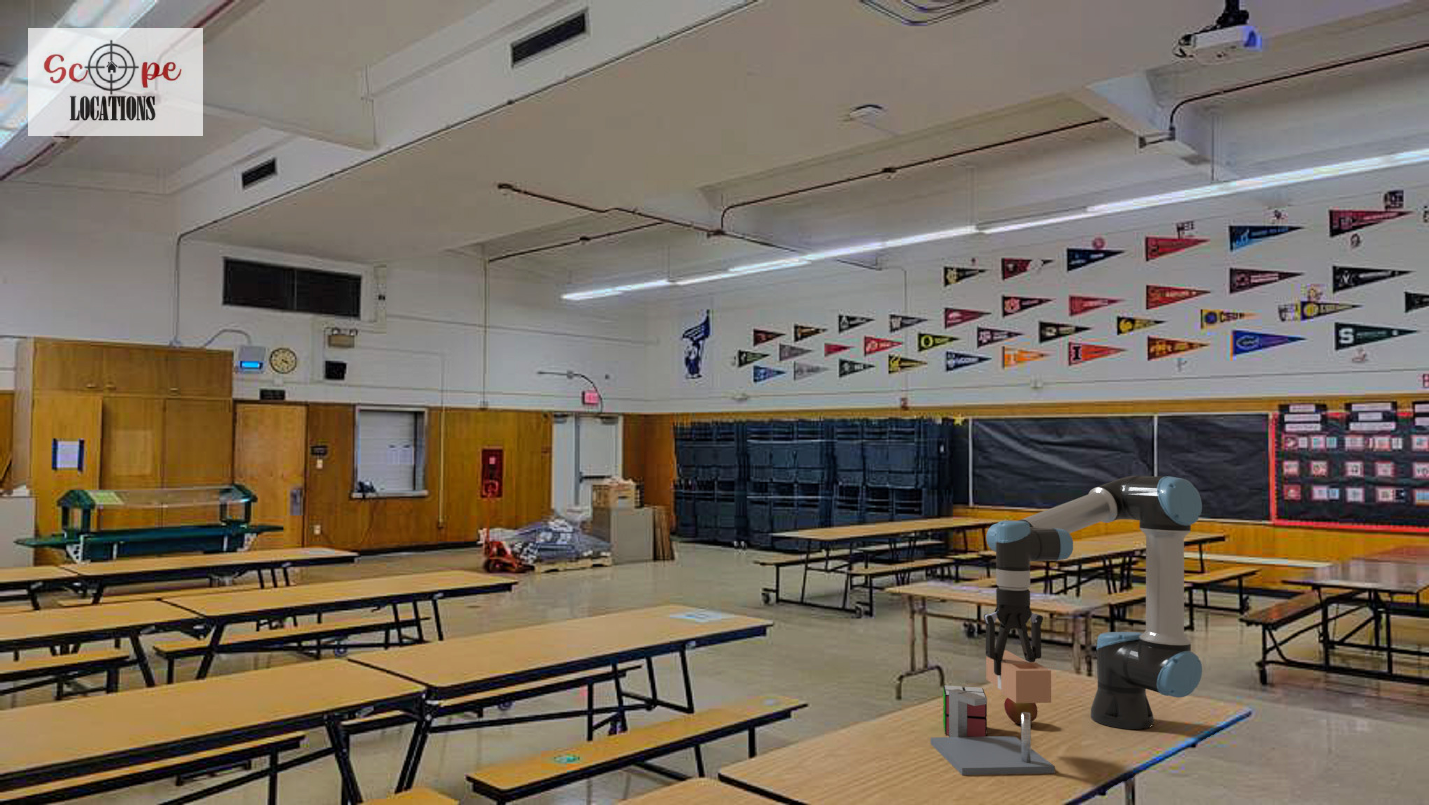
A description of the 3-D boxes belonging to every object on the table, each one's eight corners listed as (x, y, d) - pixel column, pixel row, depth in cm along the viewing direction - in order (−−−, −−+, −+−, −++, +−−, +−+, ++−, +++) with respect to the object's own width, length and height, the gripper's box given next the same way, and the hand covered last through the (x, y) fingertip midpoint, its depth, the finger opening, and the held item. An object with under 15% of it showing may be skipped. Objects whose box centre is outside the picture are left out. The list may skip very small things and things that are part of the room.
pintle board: (1014, 742, 219) (1014, 736, 219) (1054, 773, 198) (1054, 766, 198) (930, 743, 217) (930, 737, 217) (962, 775, 196) (962, 768, 196)
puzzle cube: (987, 739, 221) (986, 697, 222) (945, 736, 223) (945, 695, 224) (983, 727, 231) (983, 687, 232) (943, 724, 233) (943, 684, 234)
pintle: (1028, 766, 202) (1028, 712, 202) (1032, 769, 200) (1031, 714, 200) (1019, 766, 202) (1019, 712, 202) (1023, 769, 200) (1023, 714, 200)
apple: (1023, 718, 239) (1023, 687, 239) (1043, 727, 231) (1043, 695, 231) (998, 720, 236) (998, 689, 237) (1018, 730, 229) (1018, 698, 229)
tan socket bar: (980, 679, 218) (980, 650, 218) (1012, 679, 218) (1012, 650, 219) (1016, 703, 197) (1015, 670, 198) (1051, 702, 198) (1051, 670, 198)
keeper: (959, 738, 221) (959, 688, 222) (987, 749, 213) (986, 697, 214) (947, 740, 219) (947, 690, 220) (974, 751, 212) (974, 699, 212)
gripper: (1043, 585, 214) (1043, 684, 213) (969, 585, 212) (969, 685, 211) (1057, 590, 206) (1058, 693, 205) (981, 590, 205) (982, 694, 203)
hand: (1013, 689), depth 208 cm, fingers closed on tan socket bar, 5 cm apart
